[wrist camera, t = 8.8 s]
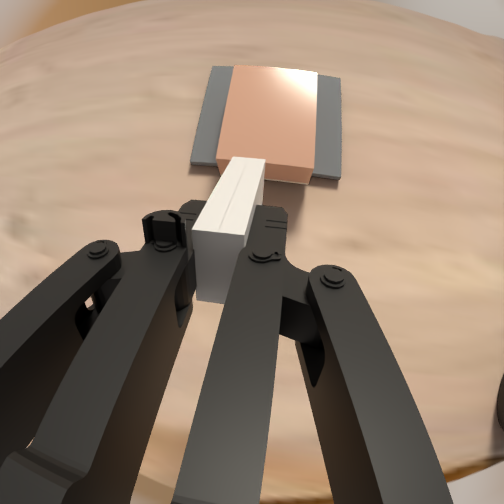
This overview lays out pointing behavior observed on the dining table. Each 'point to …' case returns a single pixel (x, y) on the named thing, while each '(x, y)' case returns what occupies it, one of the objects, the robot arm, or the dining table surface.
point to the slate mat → (326, 123)
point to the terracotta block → (271, 121)
